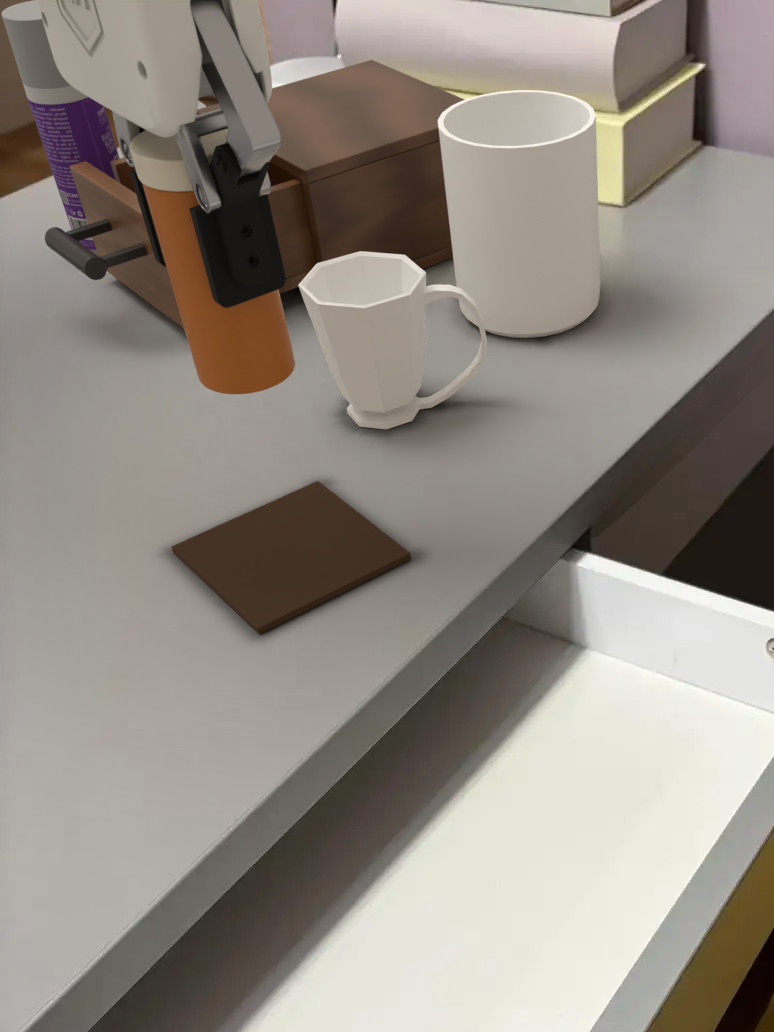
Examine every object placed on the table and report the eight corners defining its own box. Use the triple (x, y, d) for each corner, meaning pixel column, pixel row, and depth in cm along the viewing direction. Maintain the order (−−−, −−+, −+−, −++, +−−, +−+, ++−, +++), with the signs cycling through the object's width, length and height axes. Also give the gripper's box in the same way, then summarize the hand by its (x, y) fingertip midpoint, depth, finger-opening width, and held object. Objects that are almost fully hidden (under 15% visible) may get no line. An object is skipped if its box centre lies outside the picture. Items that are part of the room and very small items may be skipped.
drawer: (133, 359, 78) (98, 249, 72) (44, 287, 85) (7, 183, 80) (371, 270, 85) (354, 166, 80) (271, 211, 92) (249, 112, 87)
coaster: (259, 634, 60) (257, 628, 60) (172, 552, 65) (170, 546, 65) (411, 559, 64) (410, 552, 64) (319, 486, 69) (318, 480, 69)
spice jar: (227, 407, 55) (162, 170, 48) (178, 369, 57) (109, 138, 50) (316, 371, 57) (267, 138, 49) (265, 336, 59) (211, 108, 52)
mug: (453, 344, 80) (430, 150, 71) (466, 261, 88) (446, 78, 79) (601, 339, 79) (596, 145, 71) (600, 257, 88) (595, 73, 79)
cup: (325, 386, 76) (298, 256, 70) (486, 369, 77) (473, 239, 71) (326, 448, 72) (297, 313, 66) (498, 429, 73) (485, 294, 67)
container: (152, 245, 91) (84, 10, 80) (90, 263, 89) (11, 25, 78) (130, 224, 93) (61, -7, 82) (69, 240, 92) (-10, 8, 81)
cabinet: (331, 304, 84) (305, 170, 77) (224, 236, 91) (193, 110, 85) (502, 239, 90) (491, 110, 84) (389, 181, 98) (372, 59, 91)
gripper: (-126, -287, 43) (58, 242, 57) (82, -235, 34) (242, 378, 48) (76, -312, 46) (205, 194, 60) (314, -270, 37) (403, 314, 51)
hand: (220, 271), depth 54 cm, fingers closed on spice jar, 4 cm apart
